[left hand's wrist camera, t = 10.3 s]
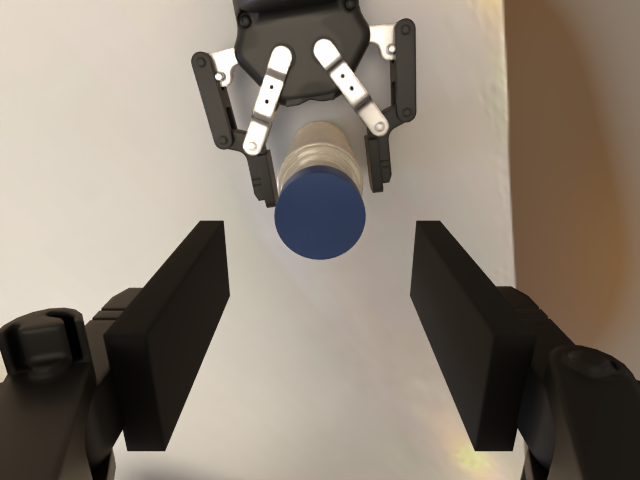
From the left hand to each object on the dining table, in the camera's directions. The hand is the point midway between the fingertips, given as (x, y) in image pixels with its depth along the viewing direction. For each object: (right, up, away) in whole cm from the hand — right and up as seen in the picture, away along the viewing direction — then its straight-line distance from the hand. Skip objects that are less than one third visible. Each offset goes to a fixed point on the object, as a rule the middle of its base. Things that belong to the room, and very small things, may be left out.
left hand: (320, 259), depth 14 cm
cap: (0, +2, +5) cm, 5 cm away
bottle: (0, +8, +21) cm, 23 cm away
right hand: (0, +4, +16) cm, 16 cm away
